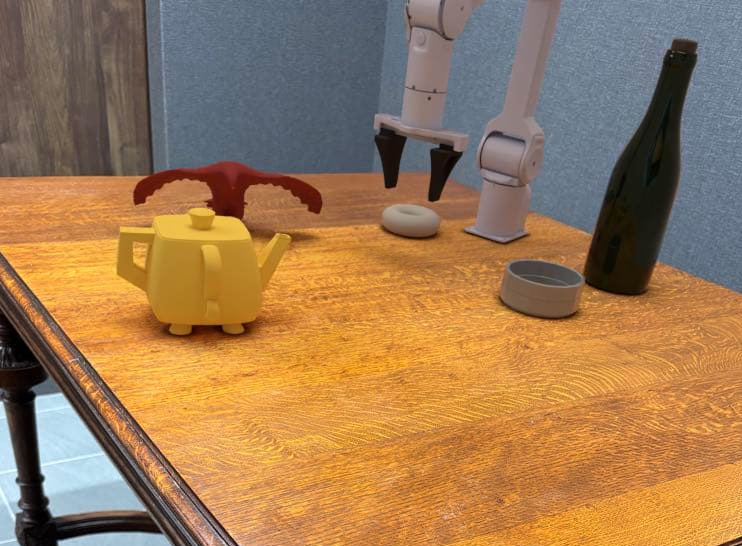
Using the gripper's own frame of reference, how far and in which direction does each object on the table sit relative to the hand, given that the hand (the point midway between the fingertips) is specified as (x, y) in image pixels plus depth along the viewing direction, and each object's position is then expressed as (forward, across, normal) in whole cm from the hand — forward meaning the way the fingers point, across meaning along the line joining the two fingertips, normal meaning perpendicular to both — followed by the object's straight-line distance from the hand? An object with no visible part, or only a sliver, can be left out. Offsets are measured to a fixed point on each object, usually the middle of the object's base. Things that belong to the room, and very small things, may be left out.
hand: (411, 194), depth 118 cm
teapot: (+10, -4, -38) cm, 40 cm away
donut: (+10, -8, +15) cm, 20 cm away
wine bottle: (+10, +26, +21) cm, 35 cm away
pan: (+10, +22, +2) cm, 25 cm away
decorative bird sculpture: (+10, -26, -11) cm, 30 cm away
